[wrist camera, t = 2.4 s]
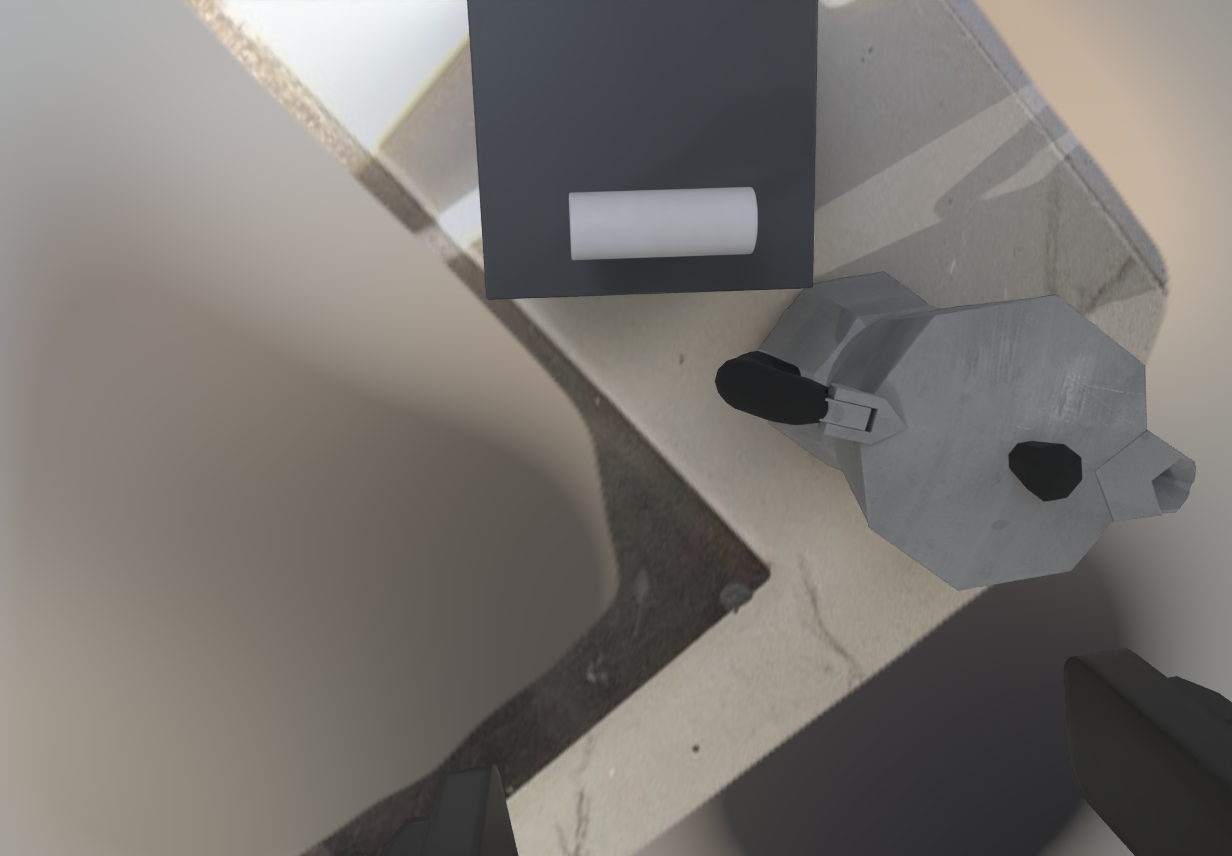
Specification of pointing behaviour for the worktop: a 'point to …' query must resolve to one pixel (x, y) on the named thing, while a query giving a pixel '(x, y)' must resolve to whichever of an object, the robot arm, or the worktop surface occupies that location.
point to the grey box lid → (644, 145)
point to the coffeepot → (965, 423)
